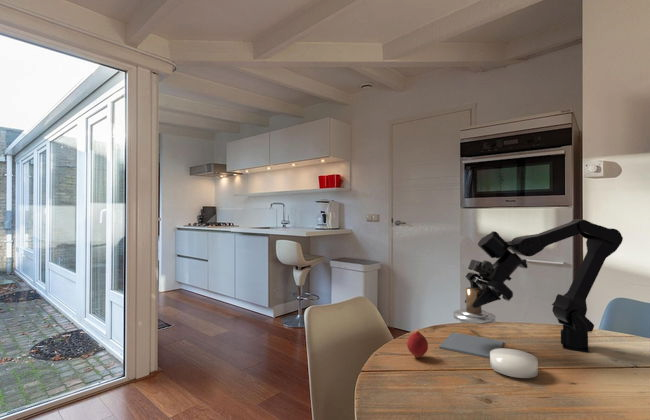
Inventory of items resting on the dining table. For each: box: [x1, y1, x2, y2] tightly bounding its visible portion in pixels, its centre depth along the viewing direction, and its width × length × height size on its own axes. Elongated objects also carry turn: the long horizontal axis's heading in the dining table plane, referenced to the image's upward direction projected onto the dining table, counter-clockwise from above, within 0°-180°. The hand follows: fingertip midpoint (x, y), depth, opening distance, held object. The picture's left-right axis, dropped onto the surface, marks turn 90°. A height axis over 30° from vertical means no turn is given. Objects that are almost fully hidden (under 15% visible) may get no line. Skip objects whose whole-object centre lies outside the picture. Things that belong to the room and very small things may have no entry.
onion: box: [406, 329, 429, 359], centre depth 101 cm, size 6×6×8 cm
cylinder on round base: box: [453, 286, 496, 325], centre depth 108 cm, size 12×12×9 cm
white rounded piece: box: [489, 347, 539, 379], centre depth 91 cm, size 11×11×4 cm
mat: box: [438, 332, 505, 359], centre depth 110 cm, size 16×16×1 cm
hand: (469, 305), depth 108 cm, fingers closed on cylinder on round base, 4 cm apart
